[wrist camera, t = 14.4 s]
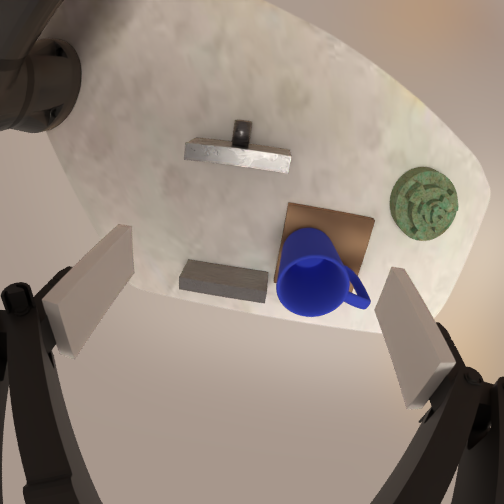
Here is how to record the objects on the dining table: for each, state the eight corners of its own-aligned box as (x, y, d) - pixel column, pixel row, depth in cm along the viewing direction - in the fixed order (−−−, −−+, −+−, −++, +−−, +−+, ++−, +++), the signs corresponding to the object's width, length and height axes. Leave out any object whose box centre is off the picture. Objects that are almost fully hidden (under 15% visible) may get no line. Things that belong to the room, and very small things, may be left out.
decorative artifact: (378, 220, 41) (432, 241, 42) (394, 242, 35) (451, 264, 35) (405, 155, 37) (458, 182, 37) (427, 167, 30) (484, 198, 31)
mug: (340, 290, 45) (352, 335, 37) (267, 260, 44) (264, 302, 35) (369, 245, 42) (390, 285, 33) (293, 209, 40) (297, 243, 32)
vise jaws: (198, 115, 36) (187, 117, 32) (293, 127, 36) (295, 130, 32) (188, 270, 47) (179, 289, 43) (266, 283, 47) (264, 303, 43)
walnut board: (288, 202, 41) (288, 204, 40) (372, 218, 41) (374, 220, 40) (273, 278, 47) (273, 282, 46) (350, 290, 46) (351, 293, 46)
